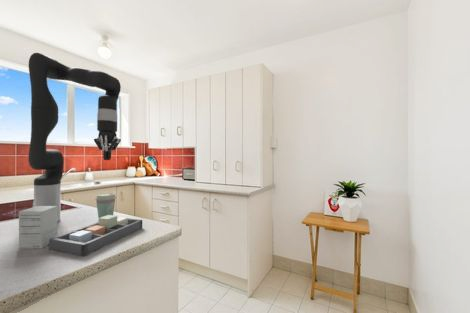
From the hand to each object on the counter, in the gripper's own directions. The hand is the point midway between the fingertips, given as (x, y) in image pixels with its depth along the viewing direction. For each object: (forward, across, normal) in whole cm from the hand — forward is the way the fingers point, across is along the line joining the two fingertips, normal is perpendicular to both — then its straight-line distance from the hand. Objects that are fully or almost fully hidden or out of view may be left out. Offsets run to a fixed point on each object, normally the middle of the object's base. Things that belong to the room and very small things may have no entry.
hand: (107, 160), depth 93 cm
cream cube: (+28, +9, -3) cm, 30 cm away
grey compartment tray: (+29, +10, -11) cm, 32 cm away
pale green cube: (+25, +10, -8) cm, 28 cm away
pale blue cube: (+28, +9, -19) cm, 35 cm away
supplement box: (+29, -6, -22) cm, 37 cm away
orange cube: (+28, +10, -14) cm, 33 cm away
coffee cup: (+29, -8, +7) cm, 31 cm away
